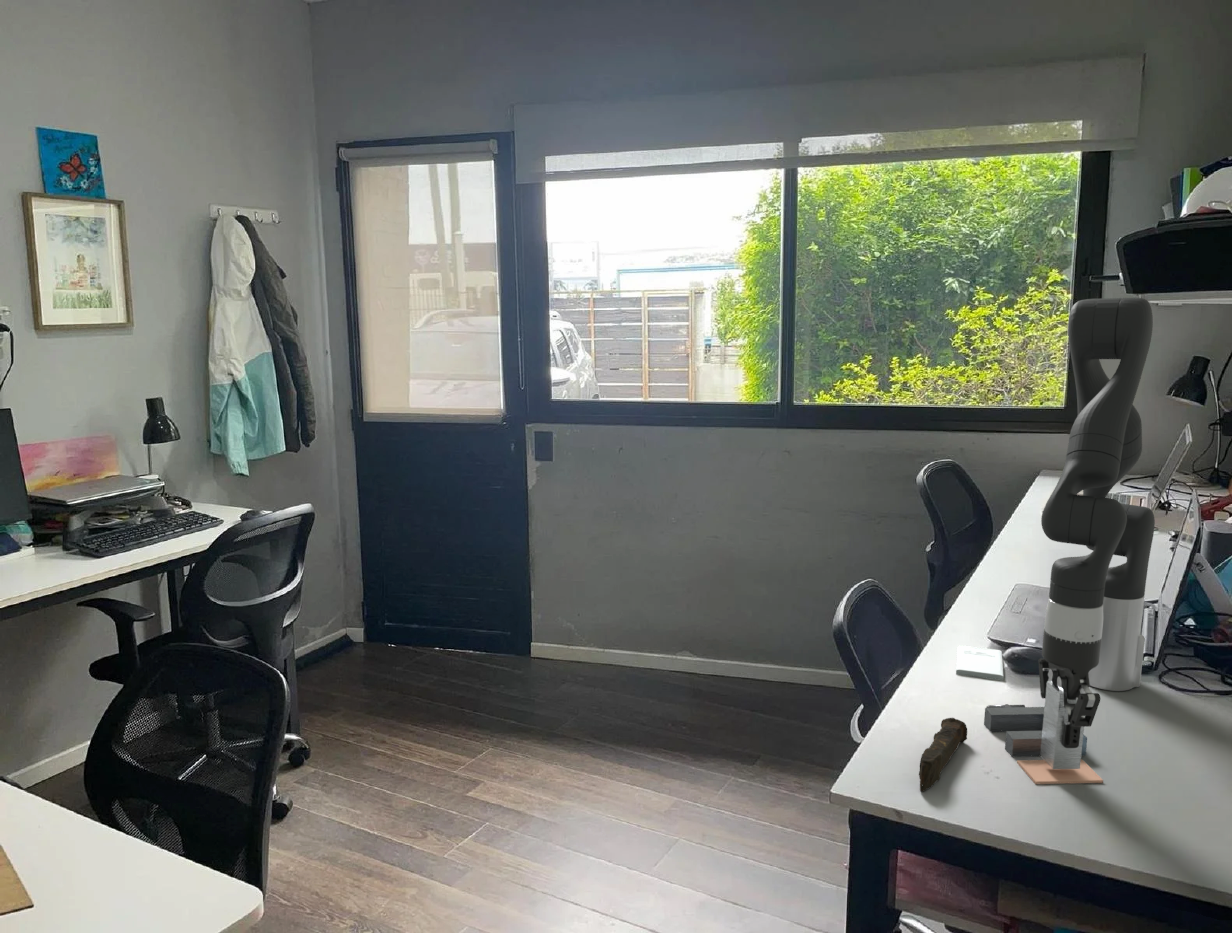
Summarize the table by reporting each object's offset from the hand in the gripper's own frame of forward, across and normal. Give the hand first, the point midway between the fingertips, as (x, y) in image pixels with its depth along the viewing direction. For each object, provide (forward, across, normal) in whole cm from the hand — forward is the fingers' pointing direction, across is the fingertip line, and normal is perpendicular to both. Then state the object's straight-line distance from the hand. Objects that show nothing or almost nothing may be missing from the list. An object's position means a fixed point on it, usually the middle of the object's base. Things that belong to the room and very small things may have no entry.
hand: (1062, 738), depth 136 cm
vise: (+6, +12, -1) cm, 13 cm away
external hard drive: (+6, +39, -4) cm, 40 cm away
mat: (+6, 0, 0) cm, 6 cm away
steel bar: (+4, 0, 0) cm, 4 cm away
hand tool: (+6, +3, +17) cm, 18 cm away
